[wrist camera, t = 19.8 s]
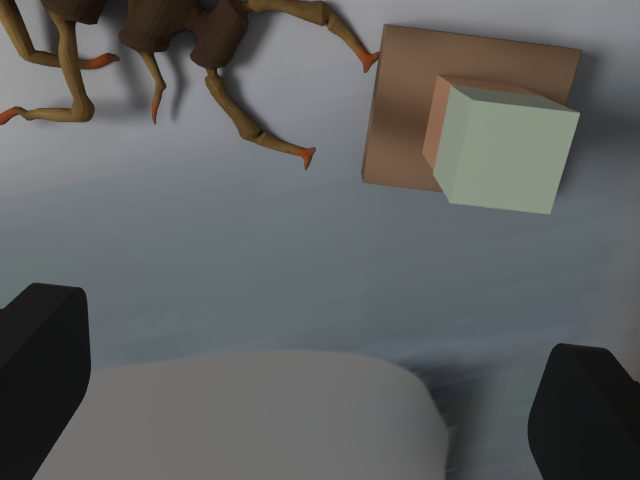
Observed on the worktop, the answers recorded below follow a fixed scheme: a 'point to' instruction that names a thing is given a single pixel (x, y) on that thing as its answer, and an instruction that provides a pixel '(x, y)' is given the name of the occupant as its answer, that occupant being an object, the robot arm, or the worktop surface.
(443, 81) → the terracotta block
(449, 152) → the sage block
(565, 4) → the worktop surface
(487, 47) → the base board
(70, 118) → the toy
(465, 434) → the worktop surface
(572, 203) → the worktop surface
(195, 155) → the worktop surface
